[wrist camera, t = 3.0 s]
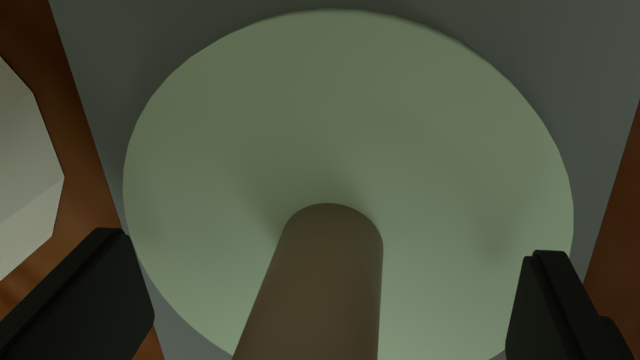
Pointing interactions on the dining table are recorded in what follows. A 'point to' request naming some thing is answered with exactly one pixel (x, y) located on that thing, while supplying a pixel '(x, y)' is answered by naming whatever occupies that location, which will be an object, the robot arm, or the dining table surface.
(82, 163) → the dining table surface
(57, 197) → the bowl
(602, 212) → the mat
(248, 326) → the lid
